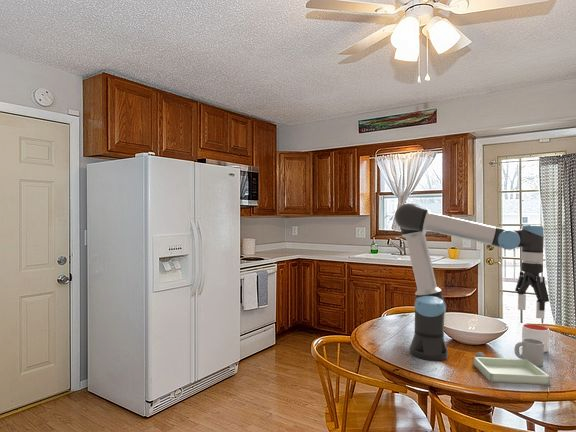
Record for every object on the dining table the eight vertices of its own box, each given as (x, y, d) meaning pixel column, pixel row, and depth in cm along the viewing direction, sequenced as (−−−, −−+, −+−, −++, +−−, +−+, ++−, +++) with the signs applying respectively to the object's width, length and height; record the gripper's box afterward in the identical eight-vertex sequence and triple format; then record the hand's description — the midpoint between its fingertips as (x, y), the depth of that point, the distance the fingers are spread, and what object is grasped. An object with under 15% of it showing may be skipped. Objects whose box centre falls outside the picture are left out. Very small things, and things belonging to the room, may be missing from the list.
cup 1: (552, 354, 167) (553, 331, 167) (527, 352, 169) (527, 329, 169) (542, 346, 177) (543, 324, 177) (518, 344, 179) (518, 323, 179)
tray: (490, 381, 139) (490, 373, 138) (473, 364, 154) (473, 356, 154) (550, 385, 137) (550, 376, 137) (526, 367, 152) (527, 359, 152)
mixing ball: (477, 362, 156) (477, 353, 156) (473, 359, 160) (474, 350, 160) (486, 363, 156) (486, 354, 156) (483, 359, 160) (483, 351, 160)
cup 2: (544, 368, 152) (545, 345, 152) (515, 363, 156) (515, 341, 156) (541, 361, 158) (541, 339, 158) (513, 357, 162) (513, 336, 162)
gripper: (560, 266, 148) (559, 322, 148) (524, 258, 173) (523, 306, 173) (540, 266, 149) (538, 321, 149) (507, 258, 174) (506, 306, 174)
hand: (530, 313), depth 161 cm, fingers open, 13 cm apart
